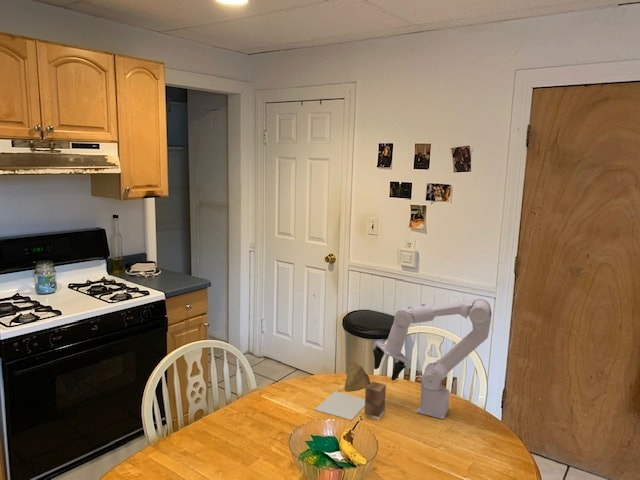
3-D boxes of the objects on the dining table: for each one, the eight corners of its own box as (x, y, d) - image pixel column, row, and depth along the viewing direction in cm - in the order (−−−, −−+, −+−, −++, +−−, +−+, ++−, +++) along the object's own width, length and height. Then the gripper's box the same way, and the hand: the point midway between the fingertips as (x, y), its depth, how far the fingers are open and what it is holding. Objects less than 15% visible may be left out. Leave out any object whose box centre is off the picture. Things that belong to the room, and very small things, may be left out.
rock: (372, 375, 189) (347, 370, 190) (375, 364, 183) (349, 359, 184) (368, 401, 182) (342, 395, 183) (371, 390, 176) (344, 384, 177)
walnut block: (384, 412, 165) (385, 384, 164) (378, 420, 160) (379, 391, 158) (371, 408, 167) (372, 381, 166) (364, 416, 162) (365, 388, 161)
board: (369, 400, 173) (369, 400, 173) (351, 420, 159) (351, 419, 159) (334, 392, 179) (334, 391, 179) (314, 410, 165) (314, 409, 165)
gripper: (373, 332, 170) (362, 365, 173) (407, 352, 161) (395, 387, 164) (384, 329, 175) (373, 361, 178) (417, 348, 166) (405, 382, 169)
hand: (384, 373), depth 171 cm, fingers open, 7 cm apart
